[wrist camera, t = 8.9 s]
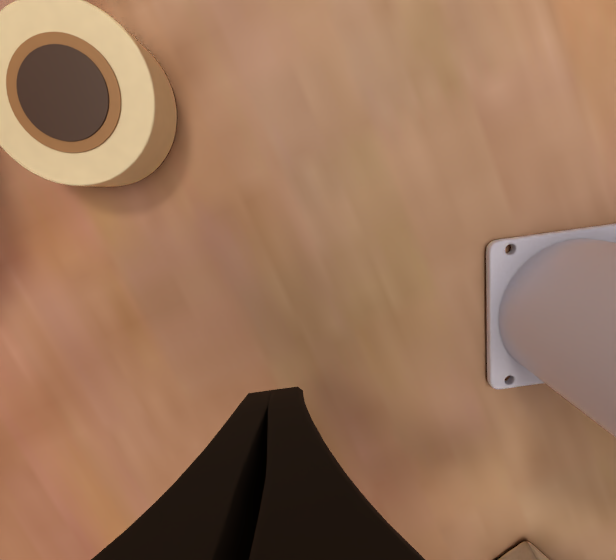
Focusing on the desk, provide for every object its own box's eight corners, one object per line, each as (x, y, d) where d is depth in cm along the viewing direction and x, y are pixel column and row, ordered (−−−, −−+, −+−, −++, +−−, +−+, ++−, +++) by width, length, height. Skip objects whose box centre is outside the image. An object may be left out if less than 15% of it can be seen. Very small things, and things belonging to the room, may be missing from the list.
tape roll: (158, 16, 15) (128, -22, 12) (191, 176, 16) (170, 174, 14) (4, 37, 15) (-61, 3, 12) (51, 195, 16) (4, 196, 14)
